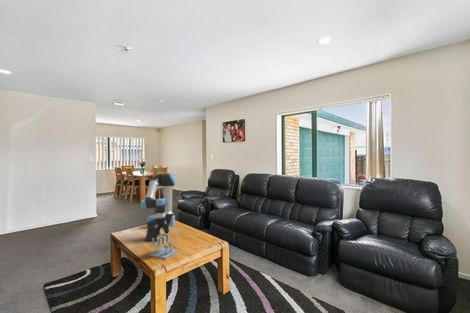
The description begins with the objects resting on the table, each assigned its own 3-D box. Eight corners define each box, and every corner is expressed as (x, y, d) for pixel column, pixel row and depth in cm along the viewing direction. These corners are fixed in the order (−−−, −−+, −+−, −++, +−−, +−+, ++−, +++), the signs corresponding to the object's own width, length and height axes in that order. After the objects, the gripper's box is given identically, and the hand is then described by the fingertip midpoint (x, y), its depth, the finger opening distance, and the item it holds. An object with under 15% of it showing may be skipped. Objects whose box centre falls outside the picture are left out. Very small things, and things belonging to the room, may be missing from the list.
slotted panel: (152, 244, 192) (152, 237, 192) (161, 240, 201) (161, 233, 201) (160, 246, 188) (160, 239, 188) (169, 241, 198) (169, 235, 198)
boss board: (148, 255, 190) (148, 245, 190) (162, 248, 205) (162, 238, 205) (165, 259, 183) (165, 248, 183) (178, 251, 197) (178, 241, 197)
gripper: (154, 221, 183) (154, 248, 183) (173, 214, 204) (173, 239, 204) (147, 220, 186) (147, 247, 186) (166, 213, 207) (166, 237, 207)
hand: (161, 243), depth 195 cm, fingers closed on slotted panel, 10 cm apart
